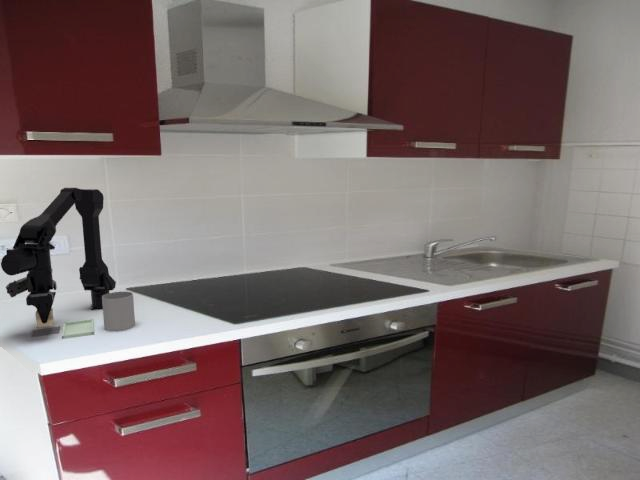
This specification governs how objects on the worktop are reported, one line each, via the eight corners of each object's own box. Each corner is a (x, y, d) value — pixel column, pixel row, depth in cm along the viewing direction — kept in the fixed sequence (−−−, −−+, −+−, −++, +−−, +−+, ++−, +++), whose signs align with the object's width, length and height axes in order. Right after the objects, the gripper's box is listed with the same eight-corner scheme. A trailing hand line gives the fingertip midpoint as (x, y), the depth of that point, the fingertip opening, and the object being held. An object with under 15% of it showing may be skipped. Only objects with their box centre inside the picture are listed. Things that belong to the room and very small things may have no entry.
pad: (33, 330, 145) (33, 329, 145) (60, 327, 148) (60, 326, 148) (31, 338, 139) (30, 337, 139) (59, 334, 142) (59, 333, 142)
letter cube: (38, 323, 144) (36, 309, 143) (53, 321, 146) (52, 307, 145) (36, 327, 140) (35, 313, 140) (52, 325, 142) (51, 311, 141)
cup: (126, 321, 153) (123, 290, 151) (140, 327, 148) (138, 294, 146) (99, 329, 146) (96, 295, 145) (113, 334, 141) (110, 300, 140)
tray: (64, 326, 149) (64, 322, 149) (93, 322, 152) (93, 318, 152) (62, 340, 137) (61, 336, 137) (94, 335, 140) (93, 331, 140)
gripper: (11, 264, 146) (16, 315, 148) (1, 277, 129) (7, 335, 131) (54, 260, 150) (59, 310, 153) (49, 272, 133) (55, 329, 136)
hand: (45, 320), depth 143 cm, fingers closed on letter cube, 4 cm apart
